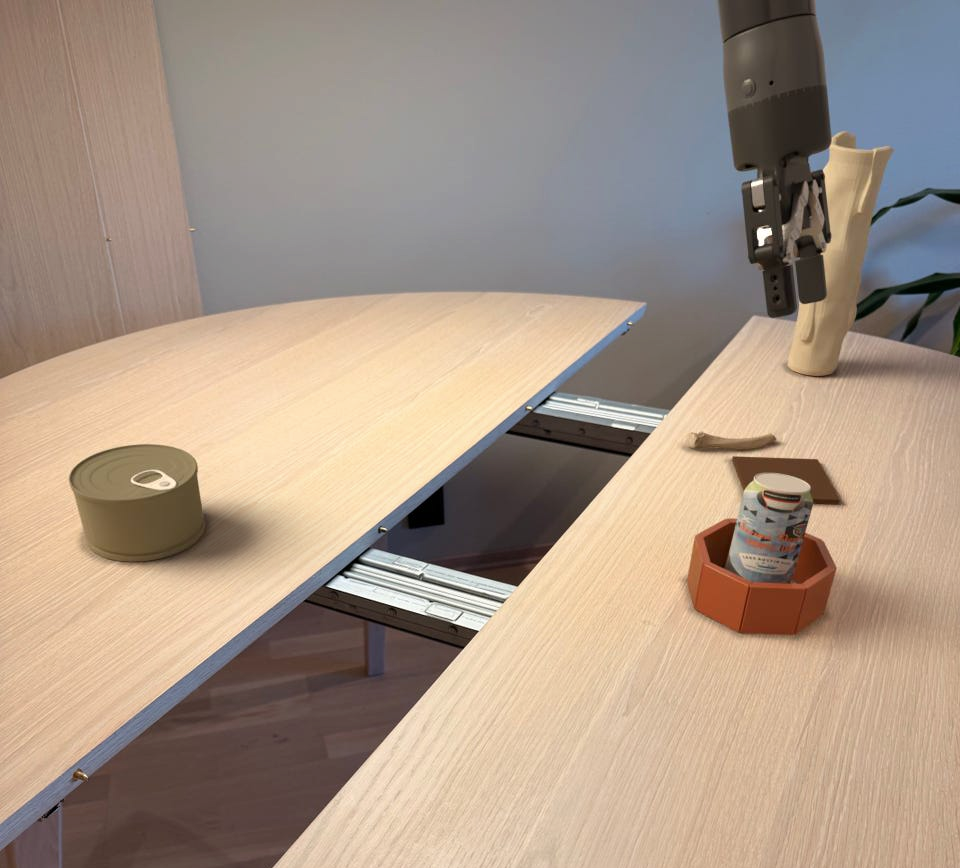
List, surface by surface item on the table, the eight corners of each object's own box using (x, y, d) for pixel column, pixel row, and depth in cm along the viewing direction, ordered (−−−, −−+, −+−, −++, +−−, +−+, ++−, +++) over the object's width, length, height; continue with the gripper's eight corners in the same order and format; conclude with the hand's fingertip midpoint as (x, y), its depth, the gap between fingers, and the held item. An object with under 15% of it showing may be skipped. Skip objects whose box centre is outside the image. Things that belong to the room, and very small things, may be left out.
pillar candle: (773, 357, 143) (820, 129, 126) (829, 356, 144) (883, 129, 127) (794, 379, 137) (847, 141, 119) (853, 378, 137) (914, 142, 120)
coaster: (816, 463, 116) (817, 458, 115) (839, 504, 108) (840, 499, 107) (731, 460, 116) (732, 456, 115) (747, 501, 108) (748, 496, 107)
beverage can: (714, 610, 90) (737, 494, 83) (726, 570, 96) (749, 458, 89) (783, 625, 89) (813, 508, 82) (792, 584, 94) (820, 471, 87)
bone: (780, 448, 119) (784, 432, 117) (691, 453, 117) (693, 436, 116) (772, 439, 121) (775, 423, 119) (684, 444, 119) (686, 428, 118)
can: (154, 492, 106) (142, 433, 102) (231, 526, 101) (223, 465, 97) (58, 537, 98) (42, 475, 94) (137, 576, 93) (123, 512, 89)
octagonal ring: (802, 565, 97) (814, 521, 94) (834, 636, 88) (848, 590, 85) (681, 561, 97) (689, 516, 94) (699, 632, 88) (708, 585, 85)
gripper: (796, 77, 69) (820, 312, 75) (849, 83, 80) (866, 289, 85) (696, 109, 74) (725, 329, 79) (759, 111, 84) (781, 305, 90)
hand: (798, 308), depth 82 cm, fingers open, 8 cm apart
